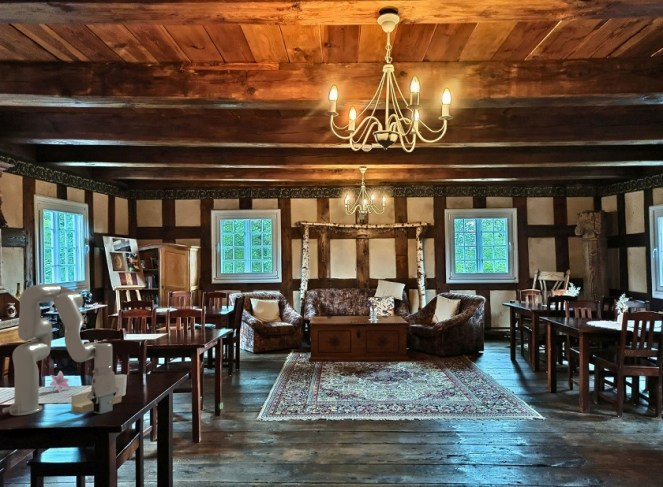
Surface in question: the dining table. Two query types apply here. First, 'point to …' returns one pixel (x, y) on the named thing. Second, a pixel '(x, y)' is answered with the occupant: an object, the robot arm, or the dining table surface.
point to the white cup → (121, 384)
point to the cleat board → (86, 402)
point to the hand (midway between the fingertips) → (103, 409)
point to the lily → (60, 382)
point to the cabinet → (105, 404)
